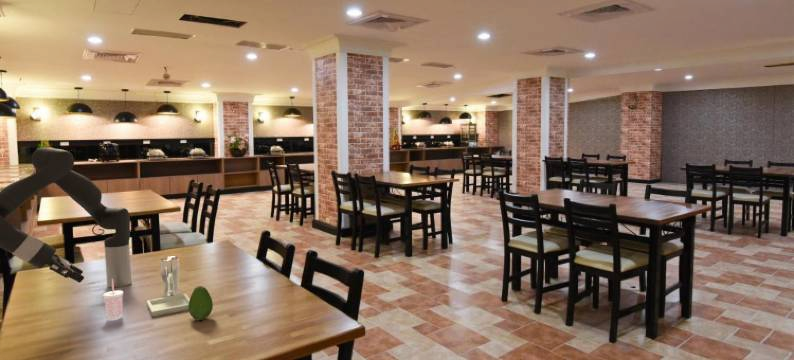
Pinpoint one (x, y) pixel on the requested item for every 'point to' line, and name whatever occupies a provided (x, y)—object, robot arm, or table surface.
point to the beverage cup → (113, 303)
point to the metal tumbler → (170, 275)
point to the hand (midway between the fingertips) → (81, 276)
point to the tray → (168, 305)
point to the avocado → (200, 303)
